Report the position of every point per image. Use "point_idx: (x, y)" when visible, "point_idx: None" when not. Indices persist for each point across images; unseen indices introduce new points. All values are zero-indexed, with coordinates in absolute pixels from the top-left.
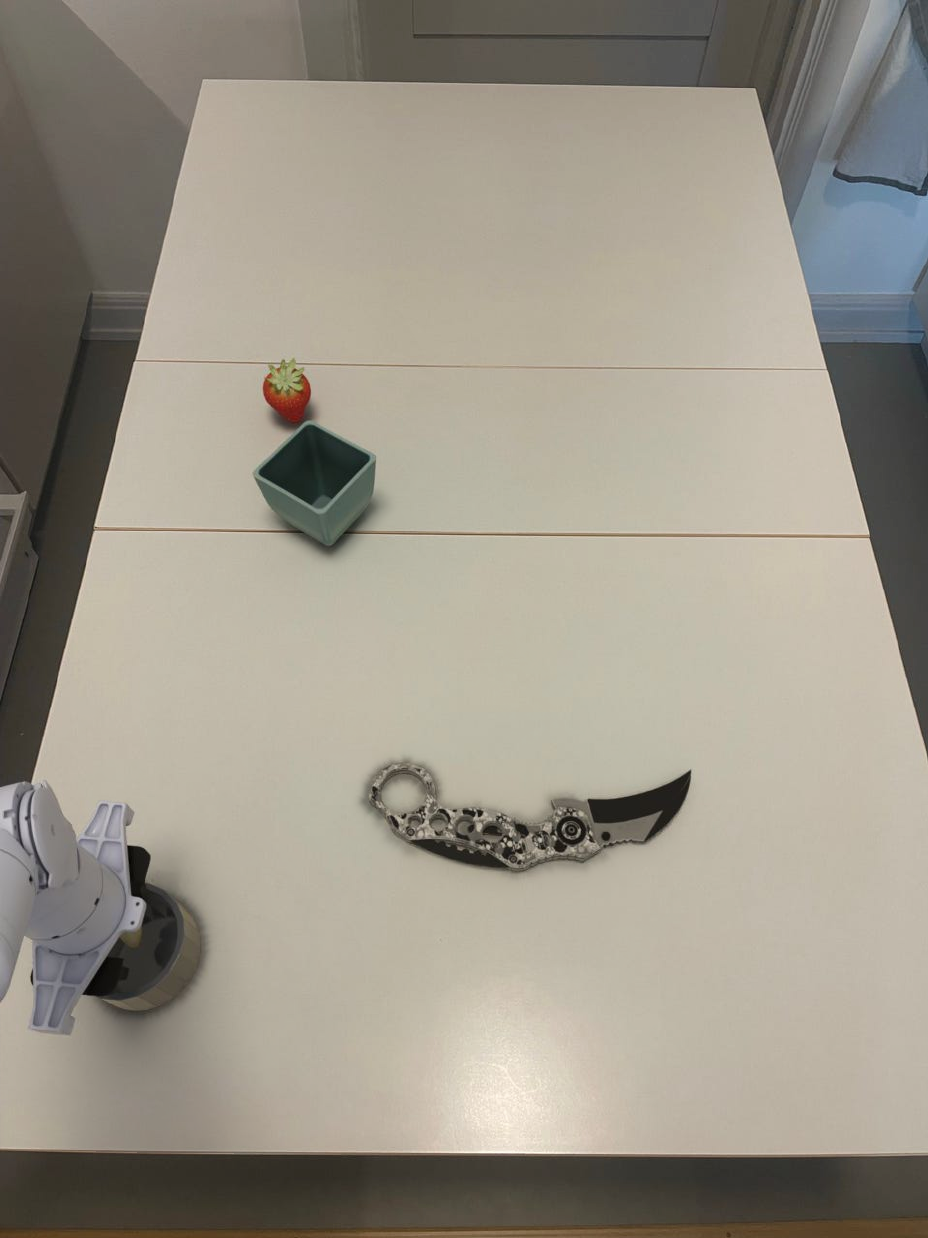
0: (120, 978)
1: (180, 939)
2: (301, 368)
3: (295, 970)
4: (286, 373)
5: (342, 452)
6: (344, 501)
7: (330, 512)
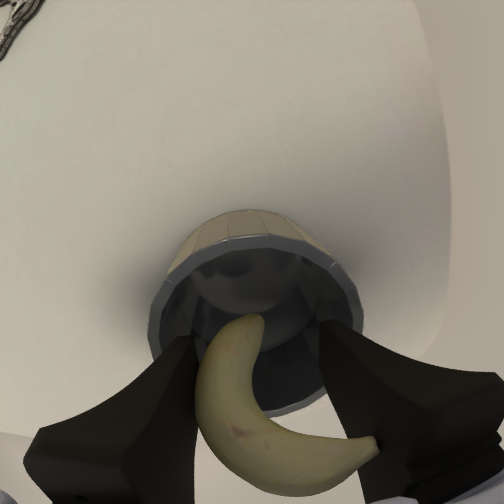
0: (378, 347)
1: (238, 242)
2: None
3: (233, 60)
4: None
5: None
6: None
7: None
